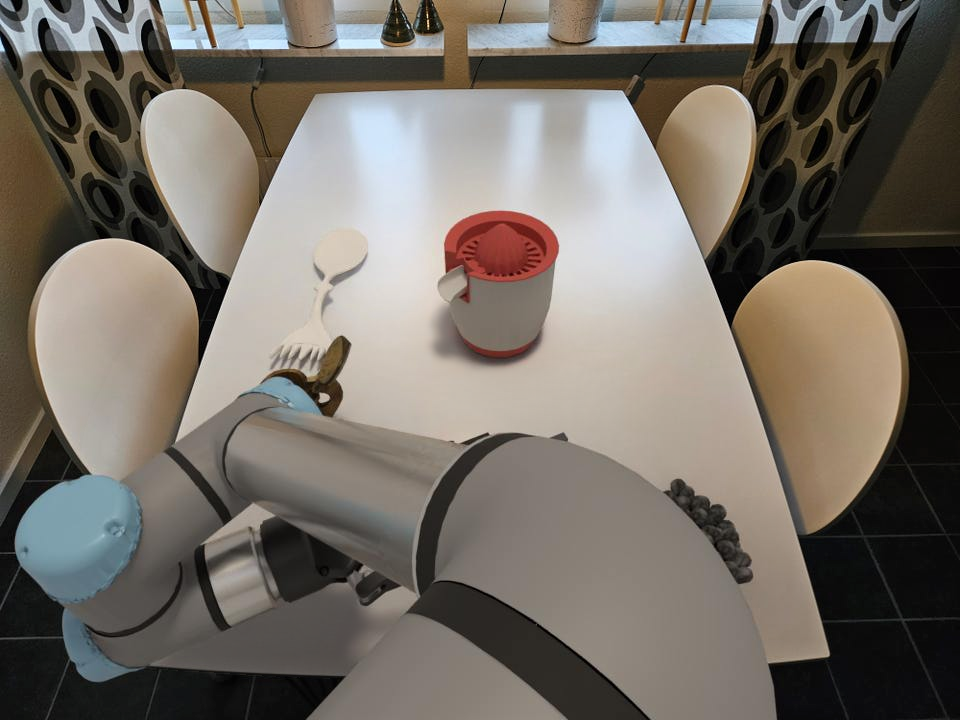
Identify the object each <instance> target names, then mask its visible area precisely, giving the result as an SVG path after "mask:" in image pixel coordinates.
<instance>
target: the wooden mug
mask: <svg viewBox="0 0 960 720" xmlns="http://www.w3.org/2000/svg"><path fill="white" fill-rule="evenodd" d="M351 349H352V342H351V341H349V340H348V338H347V337H346V336H344V335H343V334H342V335H338V336H336V337H335V338H334V339H333V341H332V344H331V345H330V347H329V348H328V350H327V352H326V353H324V355H323V357H322V360H321V361H322V362H321V365H320V367H319V371H318V372H317V374H316V375H312V376H307V375H306V374H305V373H304V372H303V371H301V370H300V369H296V368H282V369H281V368H280V369H277V370H274V371H272V372H271V373H269V374H268V375H266V376H265V377H264V378H263V379H262V380H261V382H260V383H259V385H260V384H261V383H263V382H265V381H266V380H268V379H270V378H273V377H283V378H286V379H288V380H290V381H291V382H292V383H293V384H294V385H296V386H299V387H300V388H301V389H303V390H304V391H305V392H306V393H307V394H308V396H309V397H310V398H311V399H312V400H313V401H314V403H315V404H316V405H317V407H318V408H319V410H320V412H321V413H322V415H323V416H327V417H332V418H334V416H335V414H336V412H337V411H338V409H339V407H340V406H341V404H342V401H343V399H344V390H343V387H342V384H341V383H340V382H339V381H338V380H337V378H338V377H339V376H340V374H341V372H342V371H343V369H344V367H345V365H346V363H347V361H348V359H349V355H350V352H351ZM321 394H325V395H327V396H328V397H329V399H328V400H325V401H323V402H320V399H321Z"/></svg>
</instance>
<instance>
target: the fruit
mask: <svg viewBox="0 0 960 720" xmlns="http://www.w3.org/2000/svg"><path fill="white" fill-rule="evenodd" d="M669 488H670V489H666V490H664V491H662V492H663V493H664V494H666V495H667V496H668V497H669V498H670V499H671V500H672V501H673V502H674V503H675V504H676V505H677V506H678V507H679V508H680V509H681V510H682V511H683V512H684V513H685V514H686V515H687V516H688V517H689V518H690V519H691V520H692V521H693V522H694V523H695V524H696V525H697V526H698V527H699V529H700V530H701V531H702V532H703V533H704V534H705V536H706V537H707V538H708V539H709V541H710V542H711V544H712V545H713V546H714V548H715V549H716V551H717V552H718V554H719V555H720V557H721V558H722V560H723V561H724V563H725V564H726V566H727V568H728V569H729V571H730V573H731V574H732V576H733V577H734V579H735V581H736V582H737V584H738V585H743V584H748V583H751V582H752V580H753V578H754V573H753V571H752V569H751V568H750V567H751V565H752V562H753V559H752V558H751V555H749V554H748V553H747V552H745V551H744V550H743V549H742V547H741V543H740V534H739V532H738V531H737V529H736V526H735V524H734V522H732V521H731V520H730V519H726V518H727V513H728V512H727V509H726V508H725V506H724V505H722V504H720V503H715V504H711V501H710V499H709V497H708V496H705V495H699V494H696V491H695V489H694V488H693V487H692V486H690V485H688V484H687V483H686V482H685V481H684V480H683V479H682V478H674V479H672V480H671V482H670V486H669Z"/></svg>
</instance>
